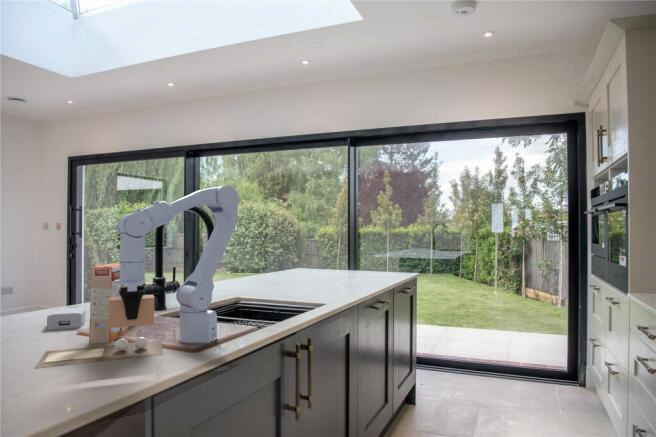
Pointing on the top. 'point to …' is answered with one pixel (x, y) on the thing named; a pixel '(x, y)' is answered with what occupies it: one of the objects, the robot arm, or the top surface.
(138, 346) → the marble
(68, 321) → the charger
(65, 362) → the walnut board
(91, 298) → the cracker box
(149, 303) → the terracotta cover
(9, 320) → the top surface
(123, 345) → the marble
